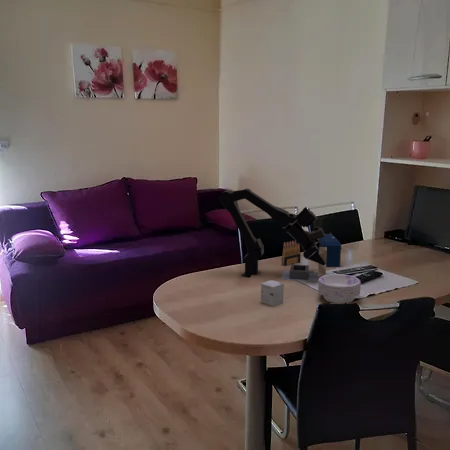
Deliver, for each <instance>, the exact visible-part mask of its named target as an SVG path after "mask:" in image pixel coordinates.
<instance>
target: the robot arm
mask: <svg viewBox="0 0 450 450" xmlns="http://www.w3.org/2000/svg"><path fill="white" fill-rule="evenodd" d="M218 200H219V201H218V202H219V203H220V204H221V205H222V206H223V208H224V209H225V210H226V211H227V212H228V213H229V214H230V216H231V217H232V220H233V222H234V224H235V225H236V228H238V231H239V233H240V234H241V236H242V239H243V240H244V242H245V247H246V250H247V253H246V254H245V256H244V257H243V259H242V260H243V263H244V272H243V273H241V276H243V277H249V278H251V277H252V276H253V275H257V274H259V259H261V258H262V256H263V254H264V252H265V249H264V247H265V245H264V244H263V242H262V239H261V237H260V238H258V239H257V238H256V237H255V235H254V234H253V232H252V230H251V228H250V227H249V225H248V222H247V221H246V219H245V217H244V215H243V214H242V212H241V210H240V208H239V204H238V201H242V200H246V201H248V202H249V203H251V204H252V205H254V206H255V207H257V208H258V209H260V210H261V211H262V212H264V213H266V214H267V215H268V216H269V217H270V218H271V220H273V221H274V222H275V224H277V225H278V226H281V228H282V231H281V232H282V233H281V234H282V235H285V234H286V233H287V234H288V235H289V236H290V237H292V239H294V240H293V241H294V242H295V241H296V243H297V244H299V245H300V247H301V248H302V251H303V252H302V253H303V254H302V257H304V259H305V260H309V261H312V262H314V263H317V264H318V265H319V264H321V265H325V264H326V263H325V262H324V260H323V259H322V257H321V256H320V254H319V247H320V241H319V238H323V237H325V234H326V233H325V232H324V230H323V228H322V227H319V226H315V227H314V228H313V230H312V231H311V232H309V231H308V230H305V229H304V228H308V227H310V226H311V225H312V224H313V223H314V222H315V221H317V219H318V217H317V215H316V214H315V213H314V212H313V211H311V209H309V208H308V207H306V206H305V207H303V208H302V210H301V211H300V212H299V213H297V214H296V213H290V212H289V211H288V210H285V209H284V208H281V207H279V206H275V205H273V204H272V203H270V202H269V201H267V200H265V199H264V198H262V197H261V196H259V195H258V194H257V193H255V192H254V191H252V190H251V189H250V188H244V189H239V190H230V189H226V190H225V191H223V192H221V193H220V195H219V196H218ZM317 241H319V242H317Z"/></svg>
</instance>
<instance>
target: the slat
mask: <svg viewBox="0 0 450 450" xmlns="http://www.w3.org/2000/svg"><path fill="white" fill-rule="evenodd" d="M319 254H320V256H321V257H322V259H323V260H324V262H325V263H326V255H327V247H319ZM317 269H318V270H317V271H318V272H317V273H318V279H319V278H320V277H321V276H324V275H326V272H327V267H326V264H325V265H321V264H319V263H318V268H317Z"/></svg>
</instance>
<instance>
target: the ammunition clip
mask: <svg viewBox="0 0 450 450" xmlns="http://www.w3.org/2000/svg"><path fill="white" fill-rule="evenodd" d="M300 247H301V246H300V245H299V244H297V243H296V241H295V240H292V241H287V242H286V241H284V242H283V247H282V248H283V249H282V256H281V266H283V267H285V266H286V267H287V266H291V265H292V264H294V265H296V264H301V248H300Z"/></svg>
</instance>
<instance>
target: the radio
mask: <svg viewBox="0 0 450 450" xmlns="http://www.w3.org/2000/svg"><path fill="white" fill-rule="evenodd" d="M324 234H325V237H323V238H319V241H320V247H327V255H326V268H328V267H331V268H332V267H335V268H337V267H338V268H339V267H340V266H341V256H342V255H341V254H342V253H341V252H342V244H341V242H340V241H339V239H337V238H336V236H334V234H332V233H324ZM319 241H317V242H319ZM317 242H316V243H317Z"/></svg>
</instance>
